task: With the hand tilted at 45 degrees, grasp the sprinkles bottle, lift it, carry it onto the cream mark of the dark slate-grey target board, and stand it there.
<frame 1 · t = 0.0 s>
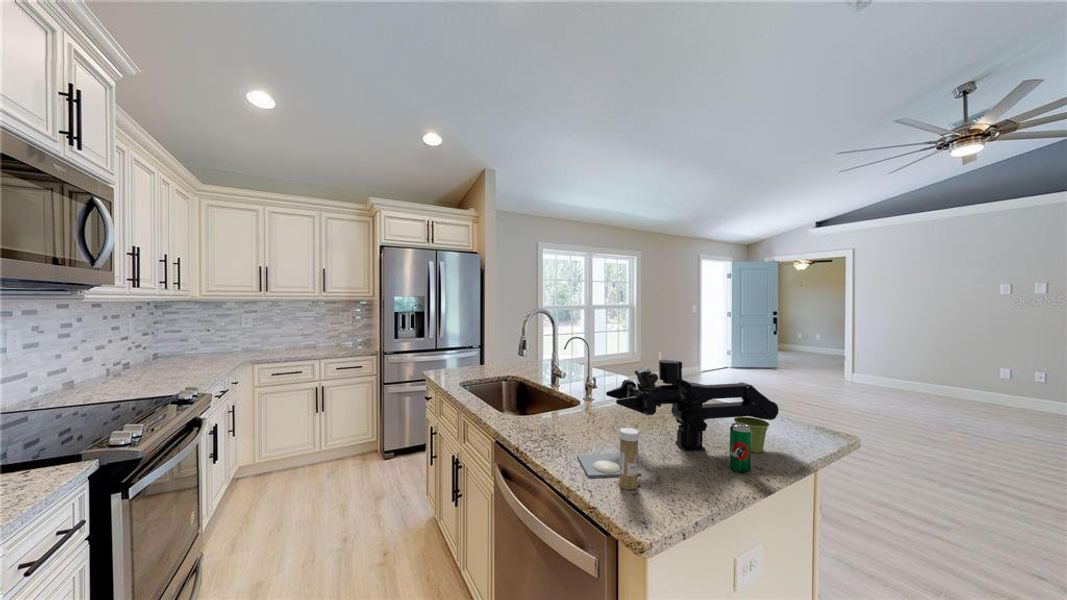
hand: (611, 397, 112), 16 cm above the countertop, tool horizontal, fingers open, 9 cm apart
plant pot: (750, 450, 114), on the countertop, touching arm
target board: (607, 465, 100), on the countertop
soda can: (739, 470, 99), on the countertop
sprinkles bottle: (628, 486, 90), on the countertop
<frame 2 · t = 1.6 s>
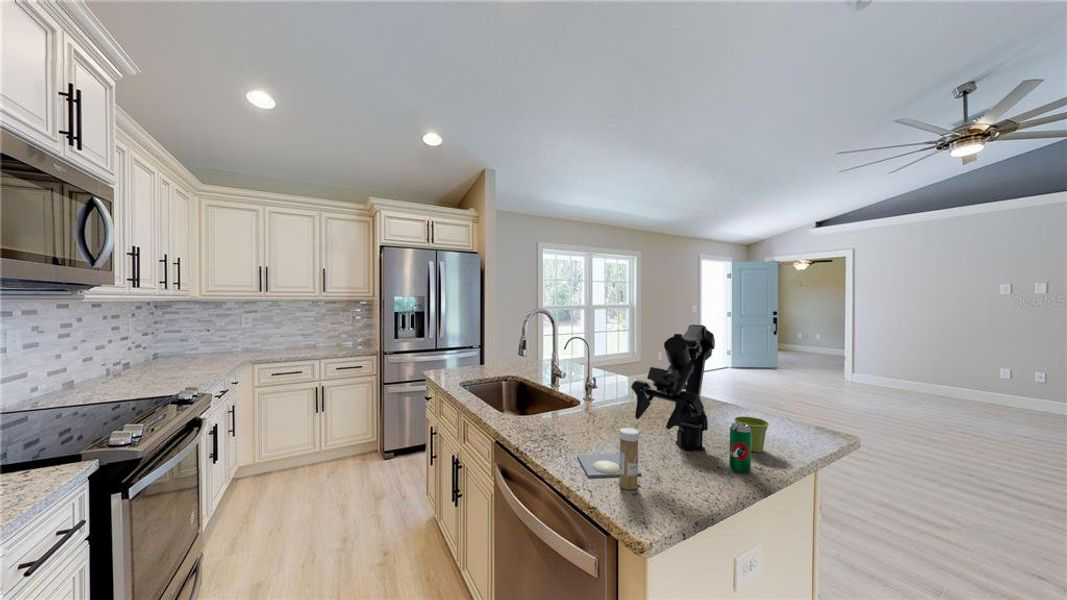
hand: (651, 423, 94), 14 cm above the countertop, tool tilted 45°, fingers open, 9 cm apart
plant pot: (750, 449, 114), on the countertop
everything else where it was.
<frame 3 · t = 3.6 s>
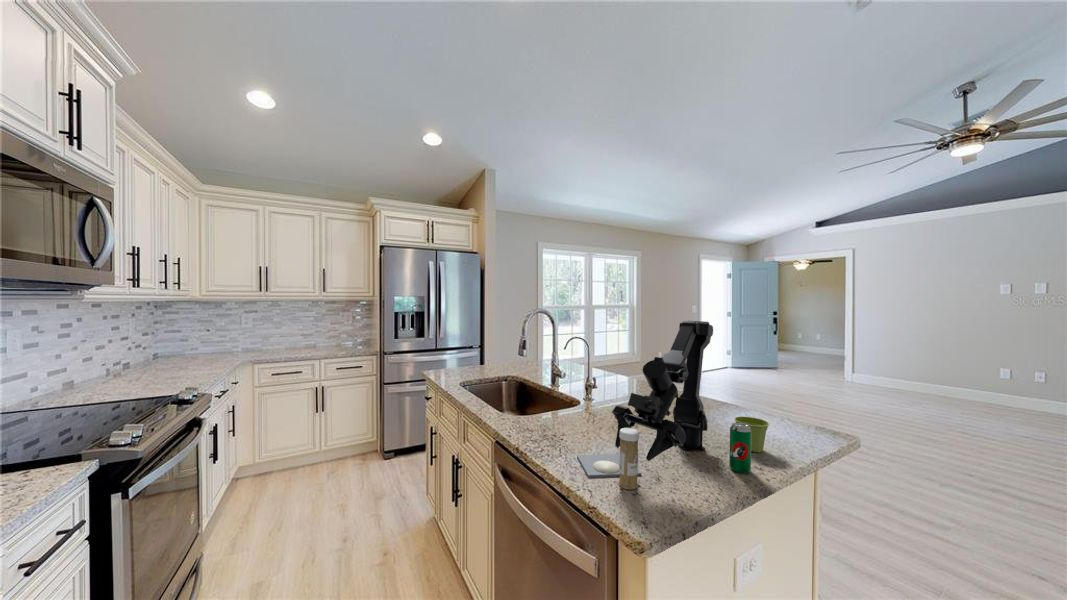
hand: (631, 453, 90), 8 cm above the countertop, tool tilted 45°, fingers open, 9 cm apart
nothing on the countertop moved.
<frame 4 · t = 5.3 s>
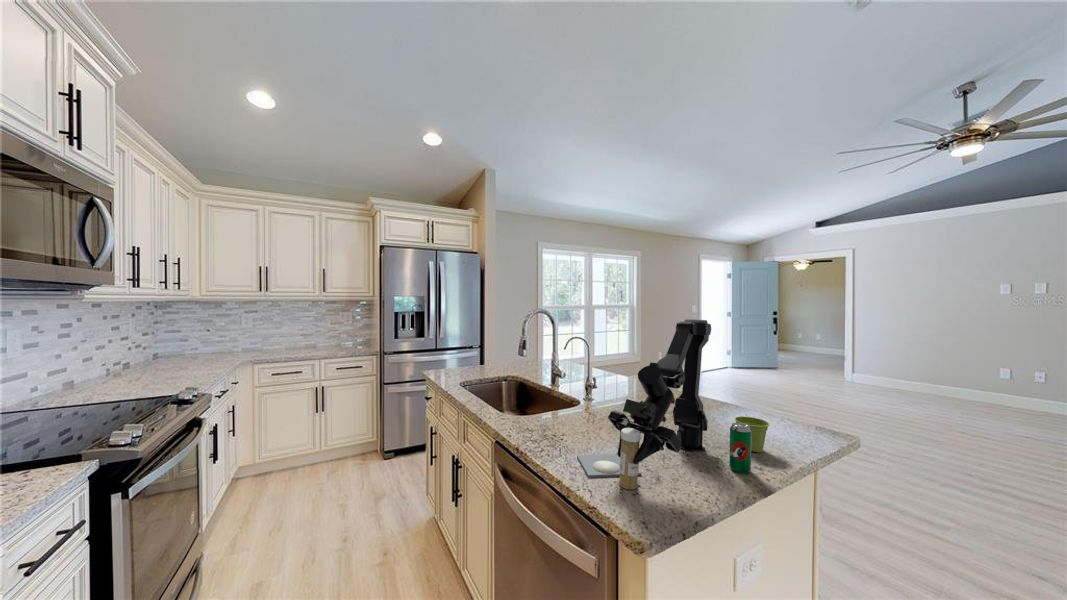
hand: (626, 459, 89), 7 cm above the countertop, tool tilted 45°, fingers closed on sprinkles bottle, 4 cm apart
sprinkles bottle: (628, 486, 90), on the countertop, touching gripper
everything else where it was.
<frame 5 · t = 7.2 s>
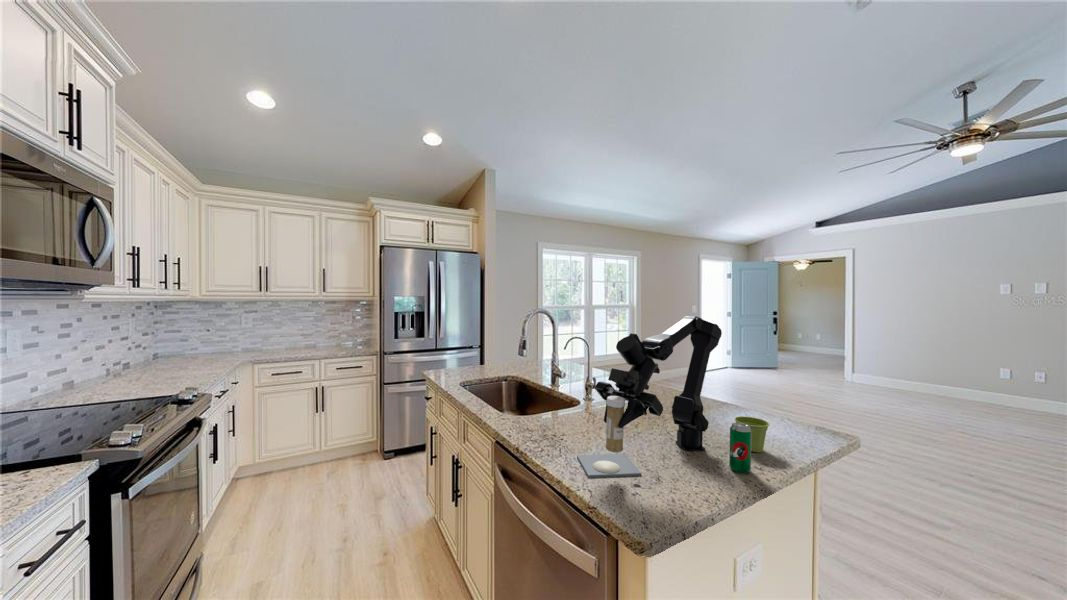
hand: (612, 424, 94), 13 cm above the countertop, tool tilted 45°, fingers closed on sprinkles bottle, 4 cm apart
sprinkles bottle: (614, 450, 95), point 6 cm above the countertop, touching gripper
everything else where it was.
when the fingers open (8 cm above the countertop, at t = 9.5 s): sprinkles bottle stays where it is, resting on target board.
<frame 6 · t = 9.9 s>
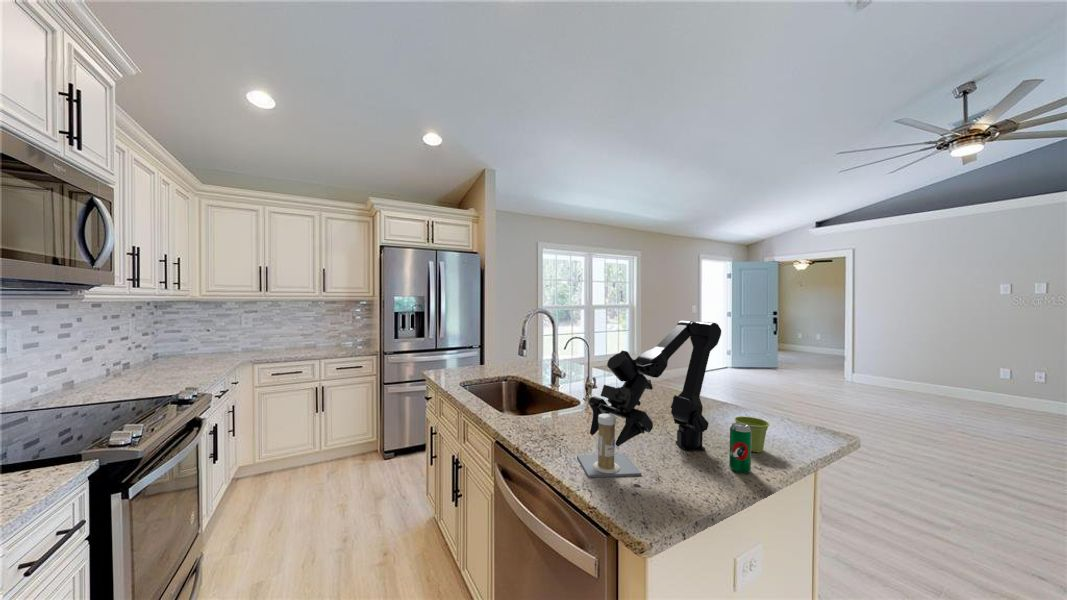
hand: (603, 439, 97), 8 cm above the countertop, tool tilted 45°, fingers open, 9 cm apart
sprinkles bottle: (605, 466, 98), point 1 cm above the countertop, touching target board
everything else where it was.
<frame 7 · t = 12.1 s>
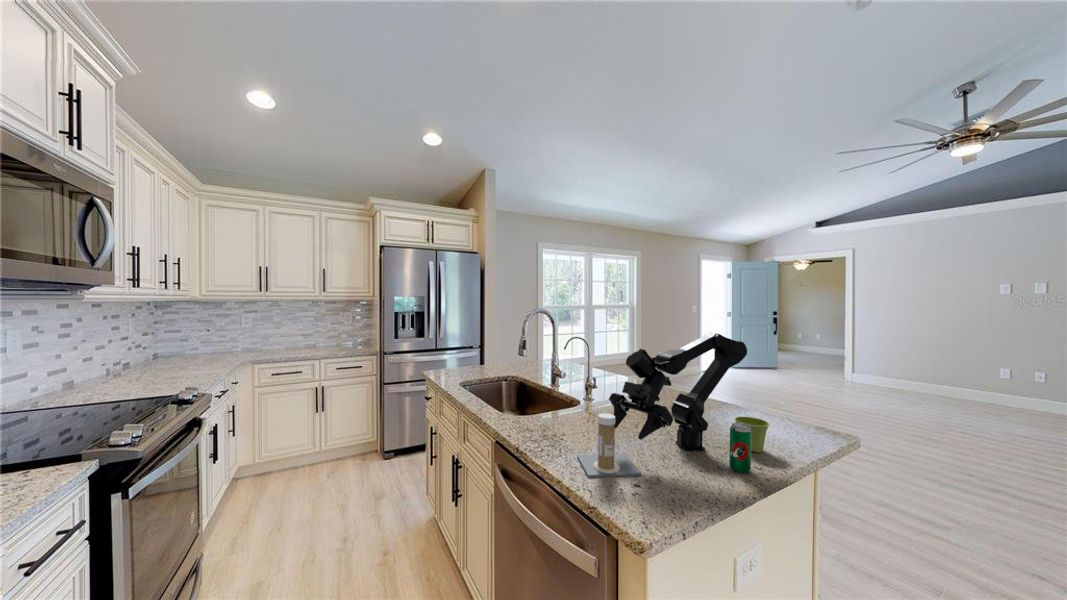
hand: (625, 433, 102), 8 cm above the countertop, tool tilted 45°, fingers open, 9 cm apart
nothing on the countertop moved.
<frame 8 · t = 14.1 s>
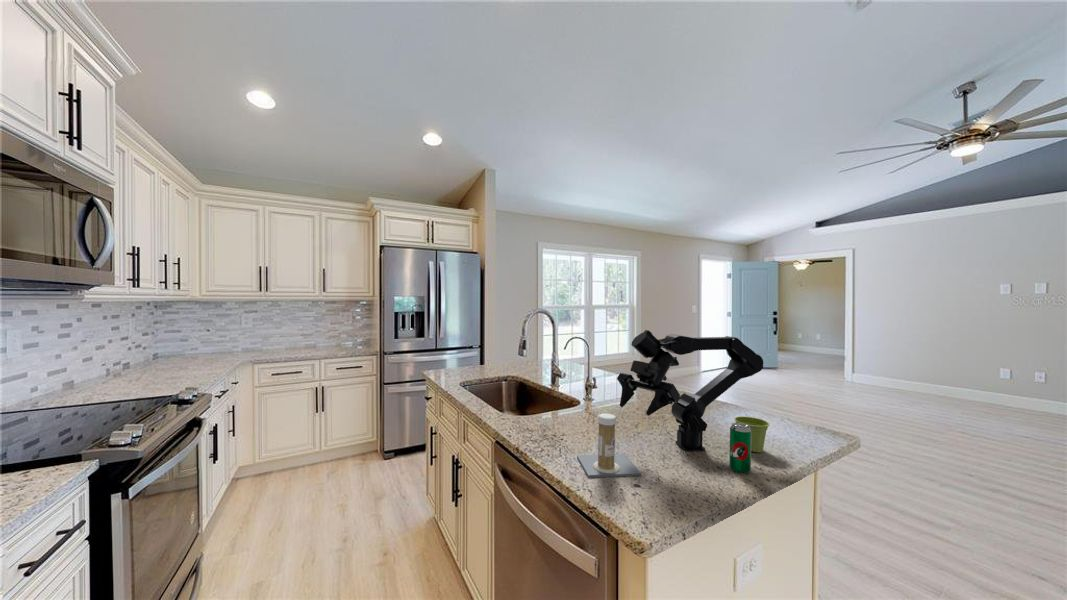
hand: (633, 410, 105), 14 cm above the countertop, tool tilted 45°, fingers open, 9 cm apart
nothing on the countertop moved.
at the end: sprinkles bottle inside the target area on the target board (1.7 cm from its centre), point 0.6 cm above the target board's base; sprinkles bottle tilted 1°; the gripper is holding nothing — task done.
